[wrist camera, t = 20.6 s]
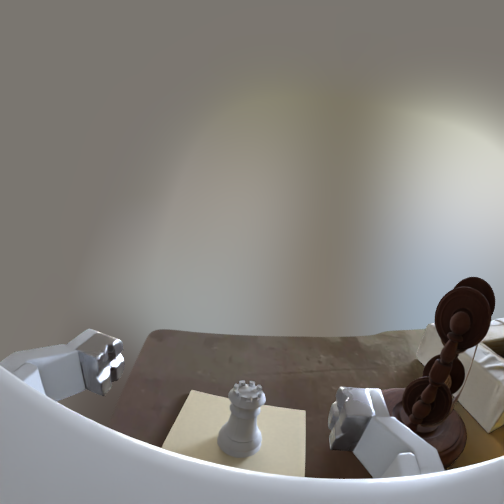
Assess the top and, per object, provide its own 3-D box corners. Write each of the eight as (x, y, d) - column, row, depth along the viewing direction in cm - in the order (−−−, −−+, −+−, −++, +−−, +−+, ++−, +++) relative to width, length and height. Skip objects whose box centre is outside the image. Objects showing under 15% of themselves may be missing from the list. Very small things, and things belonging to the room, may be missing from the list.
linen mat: (147, 476, 20) (147, 473, 19) (191, 392, 33) (191, 389, 33) (302, 507, 18) (303, 506, 18) (304, 412, 32) (305, 410, 31)
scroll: (431, 502, 16) (545, 327, 12) (327, 440, 27) (385, 268, 22) (468, 429, 26) (532, 291, 21) (387, 389, 36) (431, 256, 32)
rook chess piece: (247, 467, 22) (259, 413, 21) (207, 447, 24) (211, 391, 22) (268, 440, 26) (282, 385, 24) (231, 423, 28) (239, 368, 26)
